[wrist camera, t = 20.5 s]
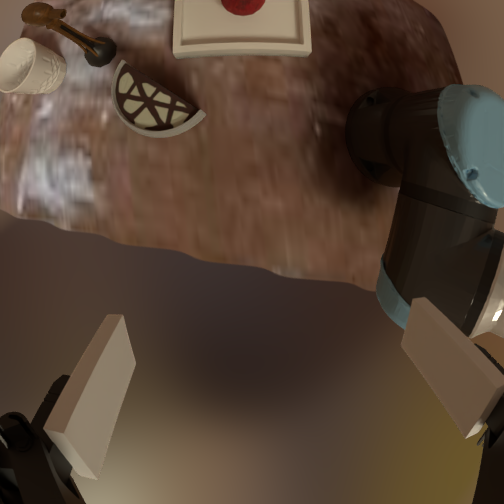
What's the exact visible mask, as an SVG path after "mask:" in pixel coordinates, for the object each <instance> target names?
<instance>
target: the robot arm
mask: <svg viewBox="0 0 504 504" xmlns="http://www.w3.org/2000/svg"><path fill="white" fill-rule="evenodd" d="M346 143H347V147H348V150H349V153H350V156H351V158H352V160H353V162H354V163H355V165H356V166H357V168H358V169H359V170H360V171H361V172H362V173H363V174H364V175H365V176H366V177H368V178H369V179H371V180H372V181H374V182H376V183H379V184H382V185H385V186H389V187H400V190H399V193H398V198H397V203H396V208H395V212H394V217H393V221H392V225H391V229H390V233H389V237H388V241H387V245H386V248H385V252H384V253H383V255H382V258H381V263H380V264H381V268H380V272H379V277H378V280H377V285H376V293H377V297H378V300H379V302H380V303H381V307H382V308H383V310H384V311H385V312H386V314H387V315H388V316H389V317H390V318H391V319H392V320H393V321H394V322H395V323H396V324H398V325H399V326H400V327H402V328H403V329H405V332H404V336H403V339H402V343H401V347H402V348H403V349H404V351H405V352H406V354H407V355H408V356H409V357H410V359H411V360H412V362H413V363H414V364H415V366H416V367H417V369H418V370H419V371H420V373H421V374H422V376H423V377H424V378H425V380H426V381H427V383H428V384H429V386H430V387H431V388H432V390H433V391H434V392H435V394H436V395H437V397H438V398H439V400H440V401H441V403H442V404H443V406H444V407H445V409H446V410H447V412H448V413H449V415H450V416H451V418H452V419H453V421H454V422H455V424H456V425H457V427H458V428H459V430H460V431H461V433H462V435H463V436H464V437H465V439H466V438H468V437H470V436H472V435H474V434H476V433H478V432H479V431H480V429H481V428H482V426H483V425H484V423H485V422H486V424H487V425H488V428H487V430H486V431H485V432H484V434H483V435H482V437H481V438H480V439H479V441H478V443H477V445H480V443H481V442H482V441H483V439H484V443H483V445H482V446H483V453H482V459H481V465H480V470H479V476H478V481H477V485H476V490H475V494H474V498H473V502H472V504H504V369H503V367H502V366H500V364H499V363H497V361H496V360H495V359H494V358H493V357H491V355H490V354H489V353H488V352H487V351H486V350H485V349H484V348H482V347H481V346H479V345H477V344H473V343H472V342H471V341H470V340H469V339H468V338H467V337H469V338H473V337H474V336H477V335H479V334H482V333H484V332H488V331H490V332H492V333H494V334H497V335H499V336H501V337H503V338H504V233H503V232H500V231H498V230H495V229H494V224H495V219H496V216H497V211H498V208H502V207H504V100H503V99H502V98H501V97H500V96H499V95H498V94H496V93H495V92H493V91H492V90H491V89H489V88H486V87H484V86H480V85H460V84H457V85H456V84H452V85H449V86H447V87H442V88H437V89H432V90H427V91H422V92H417V93H411V92H408V91H405V90H402V89H399V88H394V87H384V88H379V89H376V90H372V91H370V92H368V93H366V94H364V95H363V96H361V97H360V98H359V99H358V100H357V101H356V102H355V104H354V105H353V107H352V108H351V110H350V112H349V115H348V118H347V122H346ZM466 336H467V337H466ZM135 365H136V362H135V358H134V355H133V351H132V348H131V344H130V341H129V337H128V333H127V329H126V326H125V321H124V317H123V315H107V316H106V318H105V319H104V321H103V322H102V324H101V326H100V327H99V329H98V330H97V332H96V334H95V335H94V337H93V339H92V340H91V342H90V344H89V345H88V347H87V349H86V350H85V352H84V354H83V355H82V357H81V359H80V360H79V362H78V364H77V366H76V367H75V369H74V371H73V373H72V374H71V376H69V375H62V376H61V377H59V378H58V379H57V380H56V381H55V382H54V383H53V384H52V386H51V388H50V390H49V391H48V394H47V395H46V397H45V398H44V402H42V404H41V405H40V407H39V409H38V411H37V413H36V414H35V416H34V418H33V420H32V422H31V424H30V423H29V421H28V420H27V418H26V417H25V416H24V415H23V414H21V413H19V412H9V413H6V414H5V415H3V416H1V417H0V504H86V503H85V501H84V499H83V498H82V496H81V494H80V492H79V490H78V488H77V486H76V484H75V482H74V480H73V478H72V477H71V476H70V473H71V470H72V467H73V469H74V470H75V471H76V472H77V473H78V475H79V476H83V477H87V478H91V479H96V480H98V479H99V476H100V472H101V469H102V465H103V462H104V458H105V455H106V452H107V449H108V445H109V442H110V439H111V435H112V432H113V429H114V426H115V423H116V420H117V417H118V414H119V411H120V408H121V405H122V402H123V399H124V396H125V393H126V390H127V387H128V385H129V382H130V379H131V376H132V373H133V371H134V368H135Z"/></svg>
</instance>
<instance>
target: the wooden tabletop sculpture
mask: <svg viewBox="0 0 504 504" xmlns="http://www.w3.org/2000/svg"><path fill="white" fill-rule="evenodd" d="M65 16H66V10H65V9H54V8H53V7H52V6H51V5H49V4H46V3H42V2H35V3H32V4H29V5H28V6H26V7H25V9H24V10H23V11H22V14H21V17H22V20H23V22H25V23H26V24H28V25H29V26H36V27H41V26H45V25H46V28H47V29H53V30H54V31H56V32H58V33H60V34H62V35H64V36H65V37H67V38H69V39H70V40H72V41H73V42H75V43H76V44H77V45H78V46H80V47H81V48H82V49H83V50H84V52H85V55H84V56H85V58H86V60H87V62H88V63H89V64H90V65H91V66H95V67H102V66H104V65H106V64H109V63H110V61H111V60H112V59H113V58H114V56H115V55H116V47H117V46H116V45H115V43H114V42H113V40H112V39H110V38H105V37H98V38H96V39H93V38H91V37H89V36H87V35H85V34H83V33H81V32H79V31H78V30H76V29H74V28H73V27H71V26H69V25H68V24H66V23H65V22H63V21H61V20H60V19H63V18H64V17H65ZM82 45H83V46H84V47H86V48H84V47H83V46H82Z"/></svg>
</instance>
